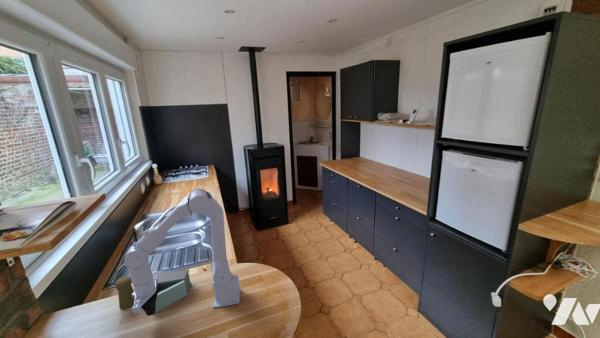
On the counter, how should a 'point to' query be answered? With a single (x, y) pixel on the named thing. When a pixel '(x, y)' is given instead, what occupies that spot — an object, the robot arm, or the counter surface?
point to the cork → (125, 292)
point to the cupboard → (172, 279)
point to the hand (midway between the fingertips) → (151, 313)
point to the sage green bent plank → (170, 295)
